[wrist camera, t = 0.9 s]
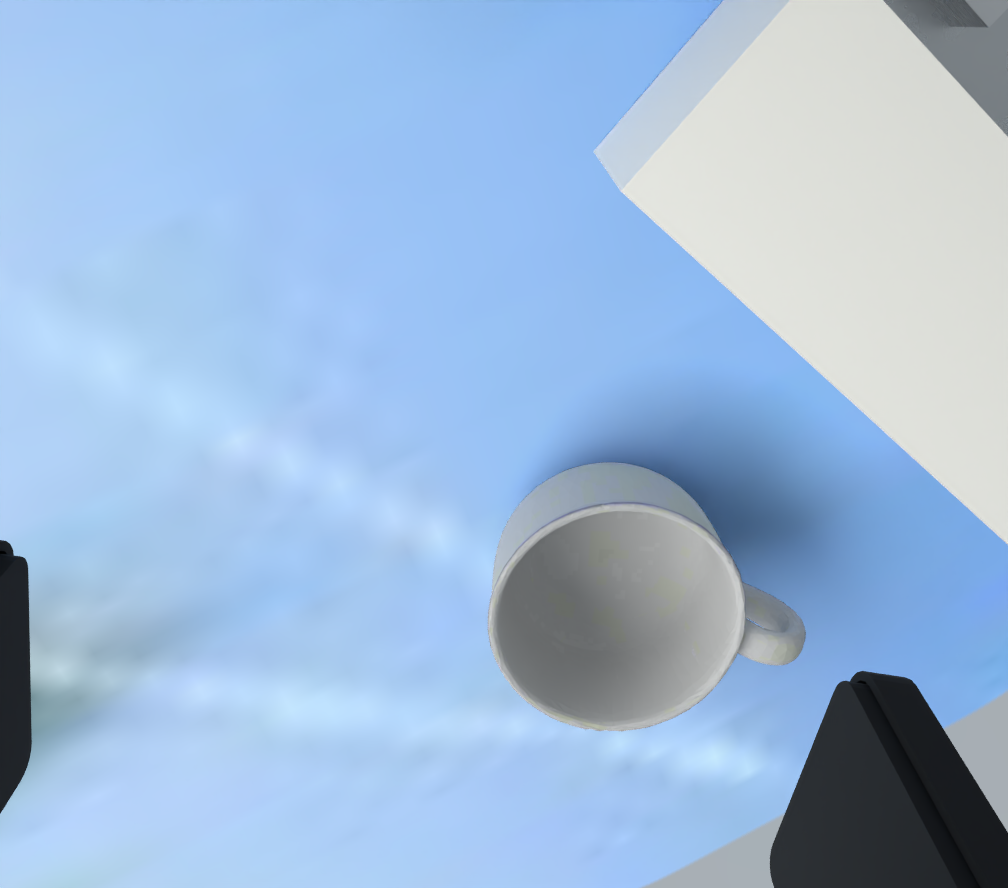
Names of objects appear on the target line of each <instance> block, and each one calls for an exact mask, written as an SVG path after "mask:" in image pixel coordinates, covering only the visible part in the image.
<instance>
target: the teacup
mask: <svg viewBox="0 0 1008 888" xmlns="http://www.w3.org/2000/svg"><path fill="white" fill-rule="evenodd" d="M747 618H748V619H750V620H752V621H754V622H755V623H757V624H759V625H760V626H762V627H763V628H762V627H760V626H758V625H756V624H754V623H752V622H751V621H749V620H748V619H747ZM488 634H489V640H490V646H491V649H492V651H493V654H494V657H495V660H496V662H497V664H498V666H499V668H500V670H501V672H502V673H503V674H504V677H505V678H506V680H507V681H508V682H509V683H510V685H511V686H512V688H513V689H514V690H515V691H516V692H517V693H518V694H519V695H520V696H521V697H522V698H523V699H524V700H525V701H527V702H528V703H529V704H531V705H532V706H533V707H535V708H536V709H537V710H539V711H541V712H542V713H544V714H546V715H548V716H549V717H551V718H553V719H555V720H558V721H560V722H563V723H567V724H569V725H572V726H575V727H579V728H583V729H593V730H597V731H603V730H608V731H626V730H634V729H642V728H646V727H650V726H653V725H656V724H659V723H661V722H664V721H667V720H669V719H672V718H674V717H676V716H678V715H680V714H682V713H684V712H686V711H687V710H689V709H690V708H691V707H693V706H694V705H696V704H697V703H699V702H700V701H701V700H702V699H704V698H705V697H706V696H707V695H708V694H709V693H710V692H711V691H712V690H713V689H714V687H715V686H716V685H717V684H718V683H719V681H720V680H721V679H722V678H723V676H724V675H725V674H726V672H727V670H728V669H729V667H730V666H731V664H732V663H733V661H734V659H735V657H736V655H737V653H739V654H741V655H743V656H745V657H747V658H749V659H751V660H754V661H757V662H760V663H764V664H768V665H785V664H788V663H790V662H792V661H793V660H795V659H796V658H797V657H798V655H799V654H800V652H801V651H802V648H803V645H804V641H805V635H806V632H805V627H804V624H803V622H802V620H801V618H800V617H799V616H798V615H797V614H796V612H795V611H793V610H792V609H791V608H790V607H789V606H787V605H786V604H784V603H783V602H782V601H780V600H778V599H777V598H775V597H773V596H771V595H770V594H768V593H766V592H763V591H761V590H759V589H757V588H755V587H753V586H750V585H748V584H746V583H743V582H742V579H741V575H740V572H739V570H738V568H737V566H736V564H735V562H734V560H733V558H732V556H731V555H730V553H729V552H728V551H727V549H726V548H725V547H724V546H723V544H722V543H721V540H720V538H719V537H718V535H717V533H716V531H715V529H714V528H713V526H712V524H711V523H710V521H709V519H708V518H707V516H706V515H705V513H704V512H703V510H702V509H701V508H700V506H699V505H698V504H697V502H696V501H695V500H694V499H693V498H692V497H691V496H690V495H689V494H688V493H687V492H686V491H684V490H683V489H682V488H681V487H680V486H679V485H677V484H676V483H674V482H673V481H671V480H670V479H668V478H666V477H664V476H663V475H661V474H659V473H656V472H654V471H652V470H650V469H646V468H643V467H640V466H636V465H631V464H626V463H616V462H601V463H592V464H587V465H583V466H578V467H574V468H571V469H568V470H566V471H563V472H561V473H559V474H557V475H555V476H553V477H551V478H550V479H548V480H546V481H545V482H543V483H542V484H540V485H539V486H537V487H536V488H535V489H534V490H533V491H532V492H531V493H529V494H528V495H527V496H526V497H525V498H524V499H523V500H522V502H521V503H520V504H519V505H518V507H517V508H516V509H515V511H514V512H513V513H512V515H511V517H510V518H509V520H508V521H507V524H506V526H505V528H504V530H503V532H502V535H501V538H500V541H499V544H498V547H497V551H496V556H495V562H494V569H493V582H492V595H491V598H490V604H489V611H488Z"/></svg>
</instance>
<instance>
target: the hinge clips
mask: <svg viewBox="0 0 1008 888" xmlns="http://www.w3.org/2000/svg"><path fill="white" fill-rule="evenodd" d="M883 1H884V2H885V3H886V4H887V5H888V6H889V7H890V8H891V10H892V11H893V12H894V13H895V14H896V15H897V16H898V17H899V18H900V19H901V20H902V22H903V23H904V24H905V25H906V26H907V27H908V28H909V29H910V30H911V31H912V33H913V34H914V35H915V36H916V37H917V38H918V39H919V40H920V41H921V42H922V43H923V45H924V46H925V47H926V48H927V49H928V50H929V51H930V52H931V53H932V54H933V55H934V57H935V58H936V59H937V60H938V61H939V62H940V63H941V64H942V65H943V66H944V68H945V69H946V70H947V71H948V72H949V73H950V74H951V75H952V76H953V77H954V78H955V80H956V81H957V82H958V83H959V84H960V85H961V86H962V87H963V88H964V89H965V91H966V92H967V93H968V94H969V95H970V96H971V97H972V98H973V99H974V100H975V101H976V103H977V104H978V105H979V106H980V107H981V108H982V109H983V110H984V111H985V112H986V113H987V115H988V116H989V117H990V118H991V119H992V120H993V121H994V122H995V123H996V124H997V126H998V127H999V128H1000V129H1001V130H1002V131H1003V132H1004V133H1005V134H1006V135H1007V136H1008V0H883Z"/></svg>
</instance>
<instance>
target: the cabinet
mask: <svg viewBox="0 0 1008 888" xmlns="http://www.w3.org/2000/svg"><path fill="white" fill-rule="evenodd" d="M593 152H594V153H595V155H596V156H597V157H598V159H599V160H600V162H601V163H602V165H603V166H604V168H605V169H606V170H607V172H608V173H609V175H610V176H611V178H612V179H613V181H614V182H615V183H616V185H617V186H618V188H619V189H620V191H621V192H622V193H623V194H624V195H626V196H627V197H628V198H629V199H630V200H631V201H632V202H633V203H634V204H635V205H637V206H638V207H639V208H640V209H641V210H642V211H643V212H644V213H645V214H646V215H647V216H649V217H650V218H651V219H652V220H653V221H654V222H655V223H656V224H657V225H658V226H660V227H661V228H662V229H663V230H664V231H665V232H666V233H667V234H668V235H669V236H670V237H672V238H673V239H674V240H675V241H676V242H677V243H678V244H679V245H680V246H681V247H683V248H684V249H685V250H686V251H687V252H688V253H689V254H690V255H691V256H692V257H693V258H695V259H696V260H697V261H698V262H699V263H700V264H701V265H702V266H703V267H704V268H706V269H707V270H708V271H709V272H710V273H711V274H712V275H713V276H714V277H715V278H716V279H718V280H719V281H720V282H721V283H722V284H723V285H724V286H725V287H726V288H727V289H729V290H730V291H731V292H732V293H733V294H734V295H735V296H736V297H737V298H738V299H739V300H741V301H742V302H743V303H744V304H745V305H746V306H747V307H748V308H749V309H750V310H752V311H753V312H754V313H755V314H756V315H757V316H758V317H759V318H760V319H761V320H762V321H764V322H765V323H766V324H767V325H768V326H769V327H770V328H771V329H772V330H773V331H774V332H776V333H777V334H778V335H779V336H780V337H781V338H782V339H783V340H784V341H785V342H787V343H788V344H789V345H790V346H791V347H792V348H793V349H794V350H795V351H796V352H797V353H799V354H800V355H801V356H802V357H803V358H804V359H805V360H806V361H807V362H808V363H810V364H811V365H812V366H813V367H814V368H815V369H816V370H817V371H818V372H819V373H820V374H822V375H823V376H824V377H825V378H826V379H827V380H828V381H829V382H830V383H831V384H833V385H834V386H835V387H836V388H837V389H838V390H839V391H840V392H841V393H842V394H843V395H845V396H846V397H847V398H848V399H849V400H850V401H851V402H852V403H853V404H854V405H856V406H857V407H858V408H859V409H860V410H861V411H862V412H863V413H864V414H865V415H866V416H868V417H869V418H870V419H871V420H872V421H873V422H874V423H875V424H876V425H877V426H879V427H880V428H881V429H882V430H883V431H884V432H885V433H886V434H887V435H888V436H889V437H891V438H892V439H893V440H894V441H895V442H896V443H897V444H898V445H899V446H900V447H902V448H903V449H904V450H905V451H906V452H907V453H908V454H909V455H910V456H911V457H912V458H914V459H915V460H916V461H917V462H918V463H919V464H920V465H921V466H922V467H923V468H925V469H926V470H927V471H928V472H929V473H930V474H931V475H932V476H933V477H934V478H935V479H937V480H938V481H939V482H940V483H941V484H942V485H943V486H944V487H945V488H946V489H948V490H949V491H950V492H951V493H952V494H953V495H954V496H955V497H956V498H957V499H958V500H960V501H961V502H962V503H963V504H964V505H965V506H966V507H967V508H968V509H969V510H971V511H972V512H973V513H974V514H975V515H976V516H977V517H978V518H979V519H980V520H981V521H983V522H984V523H985V524H986V525H987V526H988V527H989V528H990V529H991V530H992V531H994V532H995V533H996V534H997V535H998V536H999V537H1000V538H1001V539H1002V540H1003V541H1004V542H1006V543H1007V544H1008V136H1007V135H1006V134H1005V133H1004V132H1003V131H1002V130H1001V129H1000V128H999V127H998V126H997V124H996V123H995V122H994V121H993V120H992V119H991V118H990V117H989V116H988V115H987V113H986V112H985V111H984V110H983V109H982V108H981V107H980V106H979V105H978V104H977V103H976V101H975V100H974V99H973V98H972V97H971V96H970V95H969V94H968V93H967V92H966V91H965V89H964V88H963V87H962V86H961V85H960V84H959V83H958V82H957V81H956V80H955V78H954V77H953V76H952V75H951V74H950V73H949V72H948V71H947V70H946V69H945V68H944V66H943V65H942V64H941V63H940V62H939V61H938V60H937V59H936V58H935V57H934V55H933V54H932V53H931V52H930V51H929V50H928V49H927V48H926V47H925V46H924V45H923V43H922V42H921V41H920V40H919V39H918V38H917V37H916V36H915V35H914V34H913V33H912V31H911V30H910V29H909V28H908V27H907V26H906V25H905V24H904V23H903V22H902V20H901V19H900V18H899V17H898V16H897V15H896V14H895V13H894V12H893V11H892V10H891V8H890V7H889V6H888V5H887V4H886V3H885V2H884V1H883V0H723V1H722V2H721V4H720V5H719V6H718V7H717V8H716V9H715V11H714V12H713V13H712V14H711V15H710V16H709V18H708V19H707V20H706V21H705V22H704V23H703V25H702V26H701V27H700V28H699V29H698V30H697V31H696V33H695V34H694V35H693V36H692V37H691V38H690V40H689V41H688V42H687V43H686V44H685V45H684V47H683V48H682V49H681V50H680V51H679V52H678V54H677V55H676V56H675V57H674V58H673V59H672V60H671V62H670V63H669V64H668V65H667V66H666V67H665V69H664V70H663V71H662V72H661V73H660V74H659V76H658V77H657V78H656V79H655V80H654V81H653V83H652V84H651V85H650V86H649V87H648V88H647V90H646V91H645V92H644V93H643V94H642V95H641V96H640V98H639V99H638V100H637V101H636V102H635V103H634V105H633V106H632V107H631V108H630V109H629V110H628V112H627V113H626V114H625V115H624V116H623V117H622V119H621V120H620V121H619V122H618V123H617V124H616V125H615V127H614V128H613V129H612V130H611V131H610V132H609V134H608V135H607V136H606V137H605V138H604V139H603V141H602V142H601V143H600V144H599V145H598V146H597V148H596V149H595V150H594V151H593Z"/></svg>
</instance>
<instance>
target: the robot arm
mask: <svg viewBox="0 0 1008 888" xmlns="http://www.w3.org/2000/svg"><path fill="white" fill-rule="evenodd" d="M31 744H32V740H31V689H30V638H29V588H28V565H27V562H26V559H25V558H23V557H20V556H14V554H13V549H12V547H11V545H10V544H9V543H8V542H7V541H2V540H0V813H1V812H2V810H3V808H4V807H5V805H6V804H7V802H8V800H9V799H10V797H11V796H12V794H13V792H14V791H15V789H16V788H17V786H18V784H19V783H20V781H21V779H22V777H23V775H24V773H25V771H26V768H27V765H28V762H29V758H30V753H31ZM770 871H771V878H772V882H773V885H774V888H1008V832H1007V831H1006V829H1005V828H1004V826H1003V824H1002V823H1001V821H1000V820H999V818H998V816H997V815H996V813H995V811H994V810H993V808H992V807H991V805H990V804H989V802H988V800H987V799H986V797H985V795H984V794H983V792H982V791H981V789H980V788H979V786H978V784H977V783H976V781H975V779H974V778H973V776H972V774H971V773H970V771H969V770H968V768H967V767H966V765H965V764H964V762H963V760H962V758H961V757H960V755H959V754H958V752H957V750H956V749H955V747H954V746H953V744H952V742H951V741H950V739H949V738H948V736H947V734H946V733H945V731H944V729H943V728H942V726H941V725H940V723H939V721H938V720H937V718H936V717H935V715H934V713H933V712H932V710H931V709H930V707H929V705H928V704H927V702H926V701H925V699H924V697H923V696H922V694H921V693H920V691H919V689H918V688H917V686H916V685H915V684H914V683H913V681H912V680H910V679H908V678H905V677H899V676H892V675H885V674H879V673H872V672H866V671H861V672H857V673H856V674H855V675H854V676H853V677H852V679H851V681H850V682H849V681H842V682H840V683H839V684H838V685H837V687H836V689H835V691H834V693H833V695H832V698H831V700H830V703H829V705H828V708H827V710H826V713H825V715H824V718H823V720H822V723H821V725H820V728H819V730H818V733H817V735H816V738H815V740H814V743H813V745H812V748H811V750H810V753H809V755H808V758H807V760H806V763H805V765H804V768H803V770H802V773H801V775H800V778H799V780H798V783H797V785H796V788H795V790H794V793H793V795H792V798H791V800H790V803H789V805H788V808H787V810H786V813H785V815H784V818H783V820H782V823H781V825H780V828H779V830H778V833H777V835H776V838H775V840H774V843H773V846H772V849H771V855H770Z"/></svg>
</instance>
